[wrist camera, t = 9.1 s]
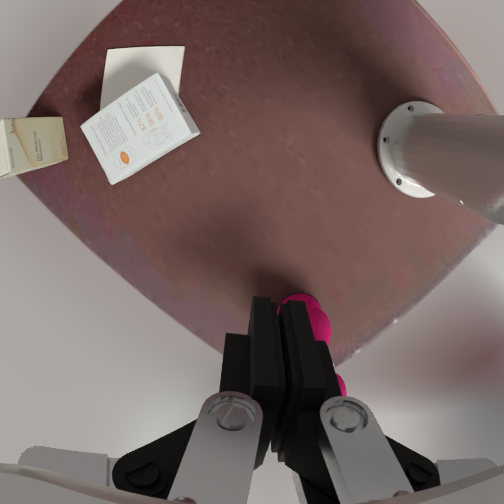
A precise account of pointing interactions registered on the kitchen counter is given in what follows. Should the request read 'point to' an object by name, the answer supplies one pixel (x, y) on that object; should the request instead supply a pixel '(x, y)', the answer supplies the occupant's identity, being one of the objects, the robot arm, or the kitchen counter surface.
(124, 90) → the mat
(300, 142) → the kitchen counter surface
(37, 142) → the skincare box
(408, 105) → the robot arm
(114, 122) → the small box
